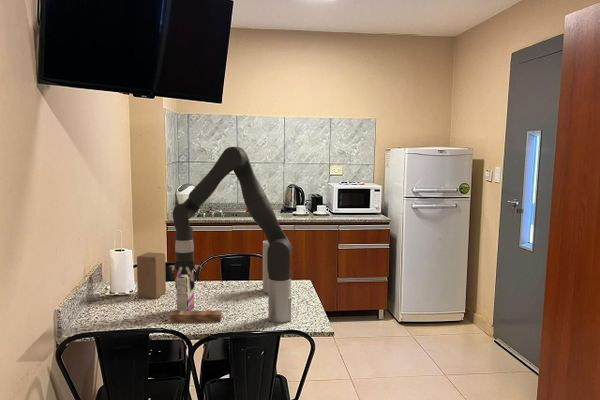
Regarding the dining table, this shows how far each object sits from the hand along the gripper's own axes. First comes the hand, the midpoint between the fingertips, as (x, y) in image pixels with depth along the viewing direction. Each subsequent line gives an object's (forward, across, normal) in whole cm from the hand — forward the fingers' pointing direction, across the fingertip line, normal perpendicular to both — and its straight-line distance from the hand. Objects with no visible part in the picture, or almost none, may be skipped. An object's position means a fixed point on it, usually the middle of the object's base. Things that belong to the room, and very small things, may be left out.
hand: (185, 289), depth 198 cm
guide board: (+10, +6, -9) cm, 15 cm away
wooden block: (+10, -20, +26) cm, 34 cm away
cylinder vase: (+11, +39, +30) cm, 50 cm away
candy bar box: (+10, 0, 0) cm, 10 cm away
